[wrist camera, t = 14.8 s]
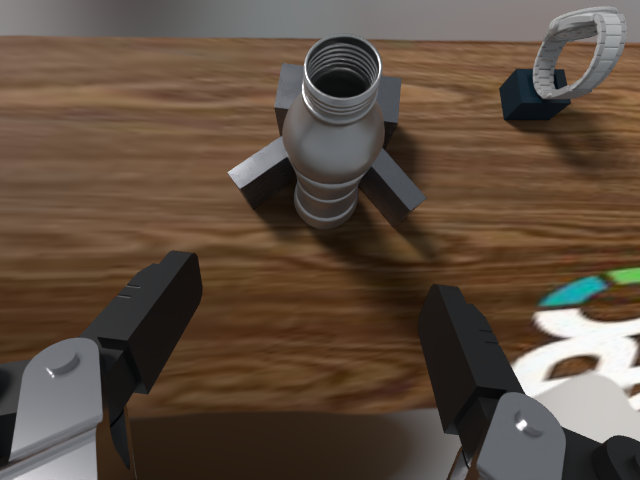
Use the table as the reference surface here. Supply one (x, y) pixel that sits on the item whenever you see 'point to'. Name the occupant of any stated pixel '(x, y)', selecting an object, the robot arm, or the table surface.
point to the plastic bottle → (334, 128)
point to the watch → (549, 83)
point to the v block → (377, 183)
